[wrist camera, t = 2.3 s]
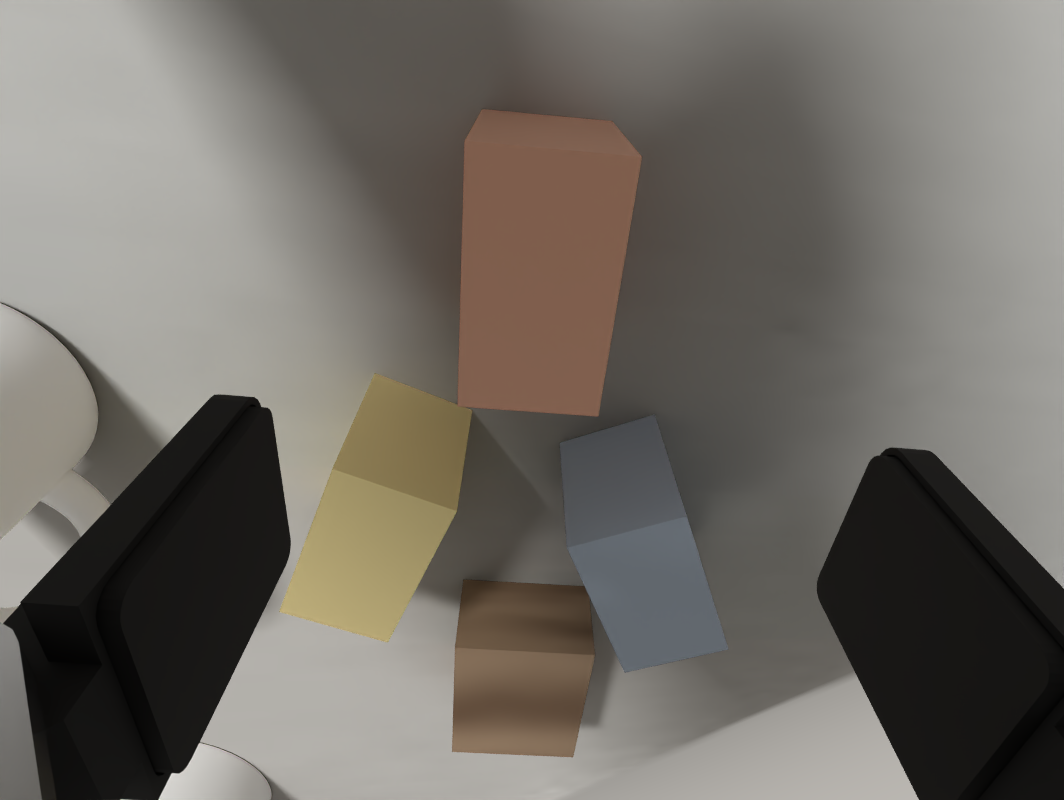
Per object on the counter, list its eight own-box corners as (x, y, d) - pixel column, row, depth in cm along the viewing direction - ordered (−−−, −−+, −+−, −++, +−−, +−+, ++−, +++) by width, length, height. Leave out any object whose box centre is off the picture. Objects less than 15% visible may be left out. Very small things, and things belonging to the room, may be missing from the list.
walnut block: (463, 575, 30) (455, 647, 26) (587, 582, 30) (595, 655, 26) (460, 678, 34) (452, 751, 30) (568, 683, 34) (573, 757, 31)
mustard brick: (375, 372, 24) (332, 468, 18) (472, 409, 24) (456, 511, 19) (326, 500, 27) (279, 611, 22) (414, 528, 28) (387, 642, 23)
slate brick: (559, 441, 25) (566, 547, 20) (654, 413, 25) (686, 516, 20) (607, 556, 29) (624, 672, 24) (692, 535, 28) (728, 649, 23)
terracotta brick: (482, 108, 19) (464, 140, 14) (612, 120, 19) (642, 156, 14) (474, 319, 22) (457, 406, 17) (582, 327, 23) (598, 416, 18)
